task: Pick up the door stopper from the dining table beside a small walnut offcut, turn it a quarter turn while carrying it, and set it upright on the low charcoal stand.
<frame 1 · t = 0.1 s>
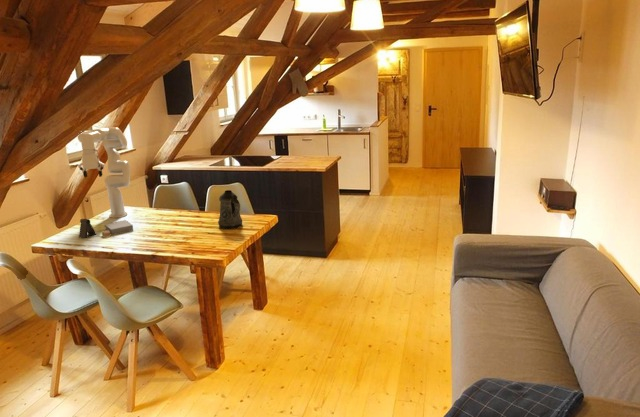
hand: (93, 176, 315), 37 cm above the table, tool pointing down, fingers open, 9 cm apart
walnut offcut: (106, 236, 311), on the table
stand: (119, 230, 322), on the table
dark grey upright piece: (232, 226, 323), on the table
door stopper: (87, 236, 311), on the table
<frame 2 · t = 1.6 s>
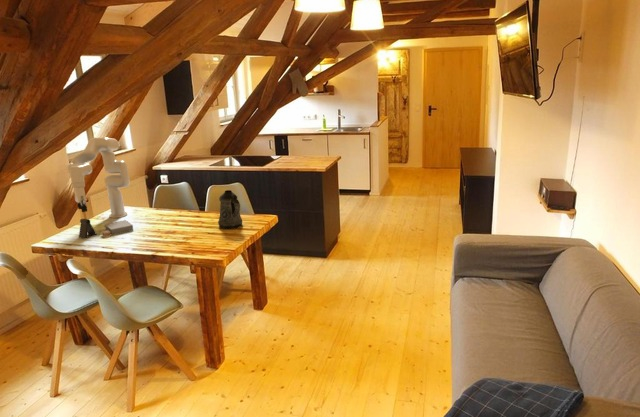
hand: (82, 210, 306), 18 cm above the table, tool pointing down, fingers open, 9 cm apart
nothing on the table moved.
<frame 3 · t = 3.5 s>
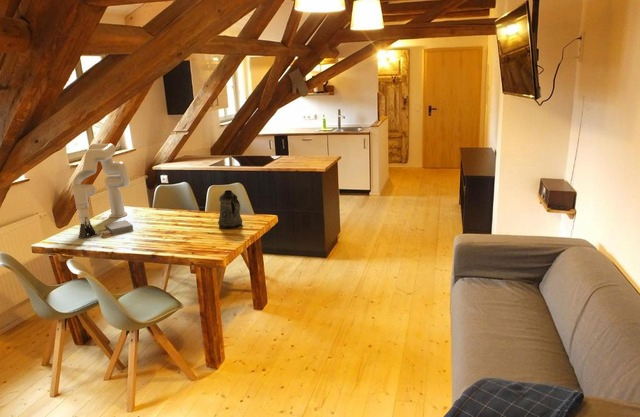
hand: (87, 231, 310), 3 cm above the table, tool pointing down, fingers closed on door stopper, 6 cm apart
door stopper: (87, 236, 311), on the table, touching gripper
everything else where it was.
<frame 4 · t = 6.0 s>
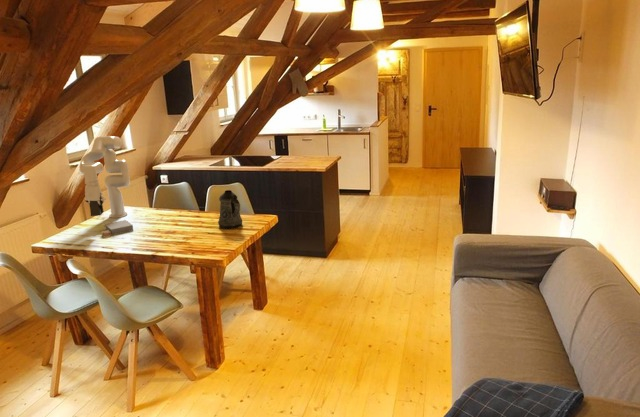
hand: (96, 209, 311), 17 cm above the table, tool pointing down, fingers closed on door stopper, 6 cm apart
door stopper: (97, 214, 312), point 14 cm above the table, touching gripper
everything else where it was.
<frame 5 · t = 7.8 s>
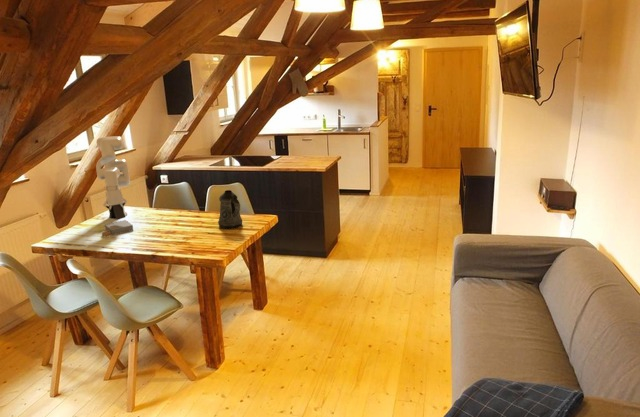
hand: (116, 213, 319), 12 cm above the table, tool pointing down, fingers closed on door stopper, 6 cm apart
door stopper: (117, 218, 320), point 9 cm above the table, touching gripper
everything else where it was.
when the fingers open (8 cm above the table, at t = 8.9 s): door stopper drops 1 cm, resting on stand.
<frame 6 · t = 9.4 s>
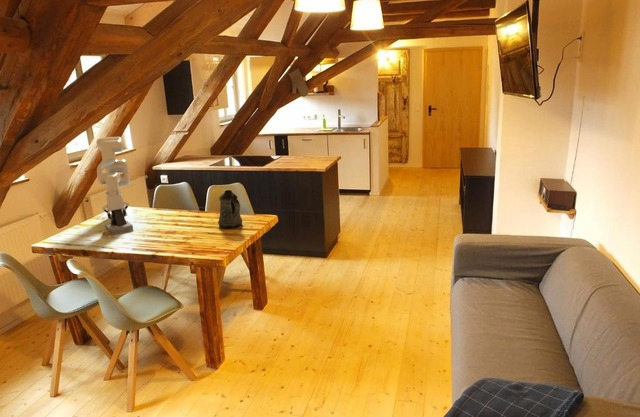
hand: (117, 217, 319), 9 cm above the table, tool pointing down, fingers open, 9 cm apart
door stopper: (118, 224, 321), point 4 cm above the table, touching stand
everything else where it was.
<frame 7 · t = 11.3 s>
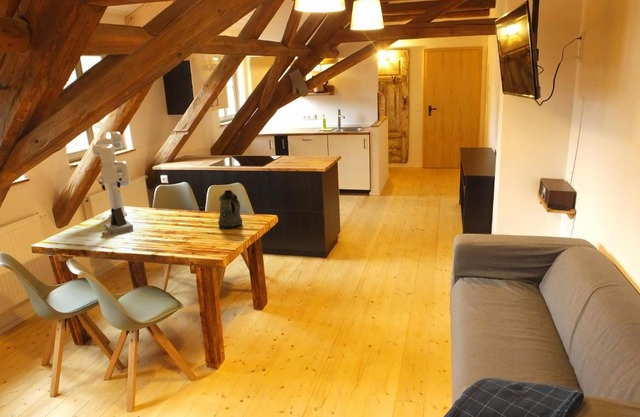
hand: (111, 188, 323), 27 cm above the table, tool pointing down, fingers open, 9 cm apart
nothing on the table moved.
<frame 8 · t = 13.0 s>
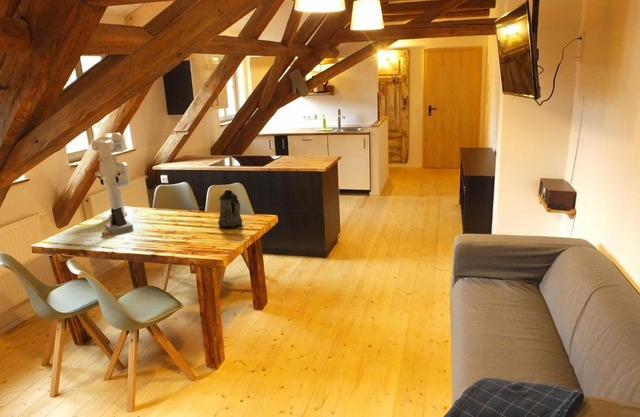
hand: (110, 183, 326), 30 cm above the table, tool pointing down, fingers open, 9 cm apart
nothing on the table moved.
at the end: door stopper inside the target area on the stand (0.3 cm from its centre), point 3.8 cm above the stand's base; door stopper tilted 0°; the gripper is holding nothing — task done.
